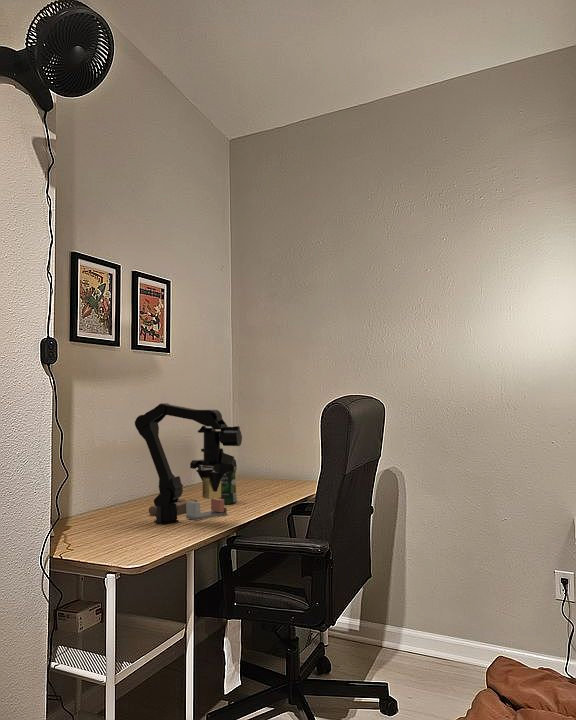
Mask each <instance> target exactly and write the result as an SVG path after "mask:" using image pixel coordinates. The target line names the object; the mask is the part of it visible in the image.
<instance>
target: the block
mask: <svg viewBox="0 0 576 720" xmlns="http://www.w3.org/2000/svg"><path fill="white" fill-rule="evenodd" d="M202 498H203V499H207V500H211V499H214V498H221V481H220V484H219V487H218V490H217V492H214V490H213V487H212V482H211V478H210V477H203V482H202Z"/></svg>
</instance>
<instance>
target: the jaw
mask: <svg viewBox="0 0 576 720" xmlns="http://www.w3.org/2000/svg"><path fill="white" fill-rule="evenodd" d="M224 508H225V504H224V500H223V499H218V498H214V499H210V511H216V512H224Z"/></svg>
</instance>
